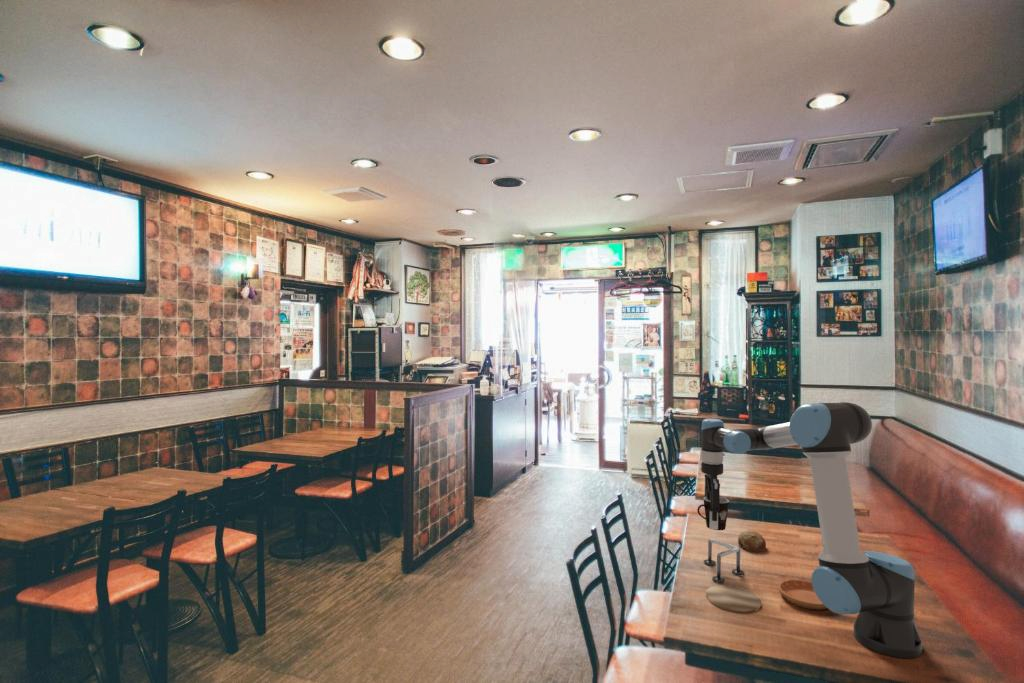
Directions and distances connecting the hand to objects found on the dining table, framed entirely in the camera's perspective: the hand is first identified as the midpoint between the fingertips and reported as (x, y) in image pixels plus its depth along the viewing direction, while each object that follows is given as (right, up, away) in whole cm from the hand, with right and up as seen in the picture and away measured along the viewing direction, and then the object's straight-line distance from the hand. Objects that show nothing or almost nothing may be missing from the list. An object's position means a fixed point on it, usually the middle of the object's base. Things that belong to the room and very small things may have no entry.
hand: (711, 525), depth 194 cm
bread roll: (+22, -14, +16) cm, 31 cm away
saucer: (+20, -15, -26) cm, 36 cm away
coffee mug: (0, -1, 0) cm, 1 cm away
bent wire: (+2, -14, -7) cm, 16 cm away
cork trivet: (-3, -14, -27) cm, 30 cm away
